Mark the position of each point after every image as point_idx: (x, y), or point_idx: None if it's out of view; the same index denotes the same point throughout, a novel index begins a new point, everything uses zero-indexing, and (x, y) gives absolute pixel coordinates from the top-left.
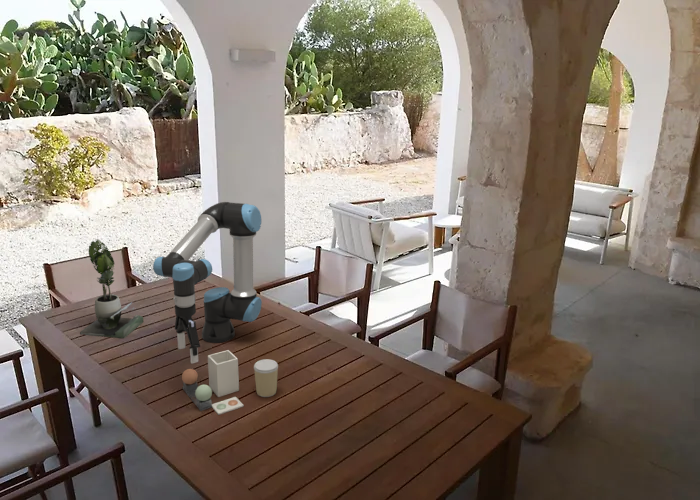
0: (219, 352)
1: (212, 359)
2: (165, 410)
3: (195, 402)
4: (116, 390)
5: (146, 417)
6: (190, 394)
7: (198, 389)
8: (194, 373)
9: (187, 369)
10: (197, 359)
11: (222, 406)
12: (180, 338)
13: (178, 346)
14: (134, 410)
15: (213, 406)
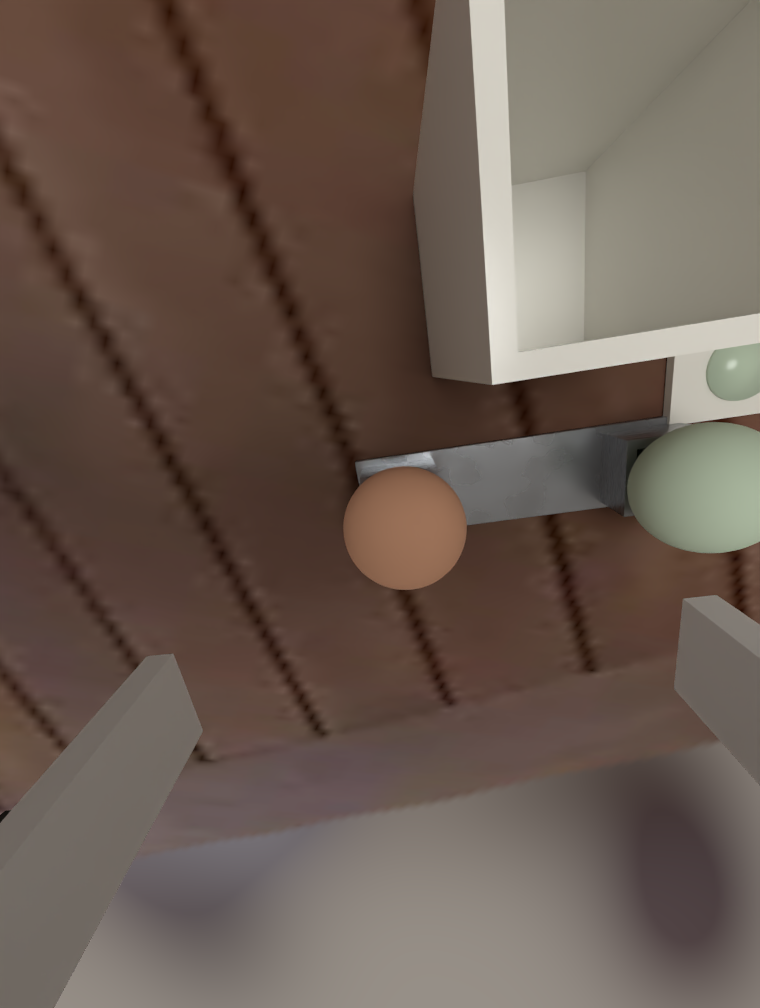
0: (481, 116)
1: (674, 339)
2: (552, 648)
3: (579, 505)
4: (269, 786)
5: (562, 723)
6: (475, 512)
7: (745, 545)
8: (446, 512)
9: (384, 563)
10: (749, 632)
11: (752, 359)
12: (63, 920)
13: (177, 774)
14: (475, 753)
15: (701, 416)
